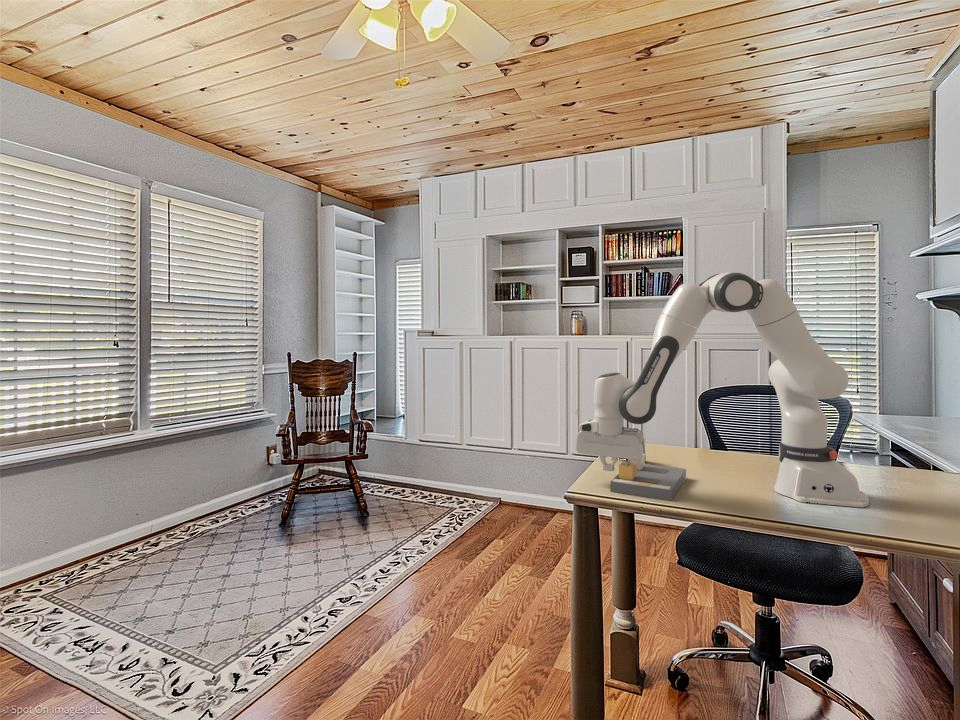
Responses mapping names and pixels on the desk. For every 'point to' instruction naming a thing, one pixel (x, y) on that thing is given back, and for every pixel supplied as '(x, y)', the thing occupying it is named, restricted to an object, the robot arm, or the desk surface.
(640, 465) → the ivory slider
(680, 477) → the switch unit
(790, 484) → the robot arm
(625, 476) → the amber slider
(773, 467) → the desk surface
